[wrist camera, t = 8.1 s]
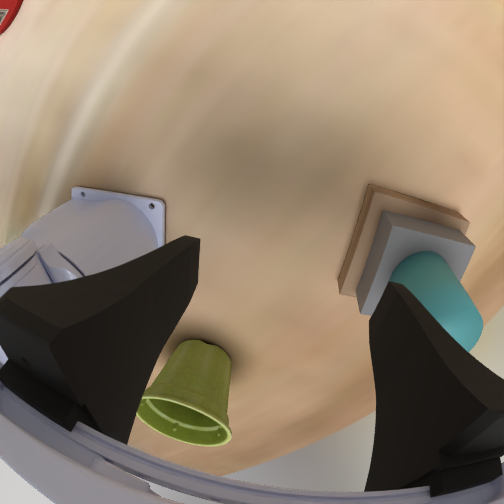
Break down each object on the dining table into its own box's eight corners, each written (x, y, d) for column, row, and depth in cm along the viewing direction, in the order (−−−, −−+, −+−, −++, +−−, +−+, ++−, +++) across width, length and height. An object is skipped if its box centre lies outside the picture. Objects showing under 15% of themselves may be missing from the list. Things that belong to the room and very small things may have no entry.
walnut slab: (336, 275, 23) (339, 294, 21) (366, 181, 19) (374, 191, 17) (419, 292, 22) (427, 310, 20) (455, 209, 18) (469, 222, 16)
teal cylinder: (378, 302, 18) (393, 366, 13) (404, 243, 15) (436, 300, 11) (430, 312, 17) (454, 371, 13) (458, 259, 15) (496, 313, 10)
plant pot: (264, 374, 29) (251, 445, 22) (199, 388, 33) (178, 447, 25) (212, 315, 26) (182, 391, 19) (147, 339, 30) (113, 399, 22)
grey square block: (355, 291, 20) (360, 313, 18) (382, 210, 17) (392, 225, 15) (428, 303, 20) (437, 323, 18) (460, 230, 17) (475, 246, 15)
